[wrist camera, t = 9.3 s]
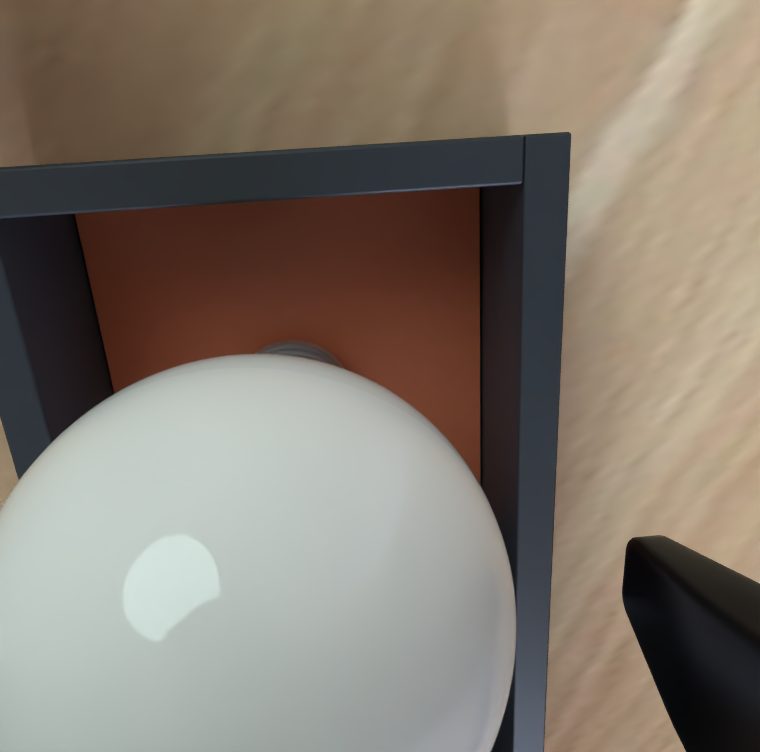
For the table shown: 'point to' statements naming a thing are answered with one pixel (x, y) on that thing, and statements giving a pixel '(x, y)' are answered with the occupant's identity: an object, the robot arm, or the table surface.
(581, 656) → the table surface
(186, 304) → the tray
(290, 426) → the lightbulb
